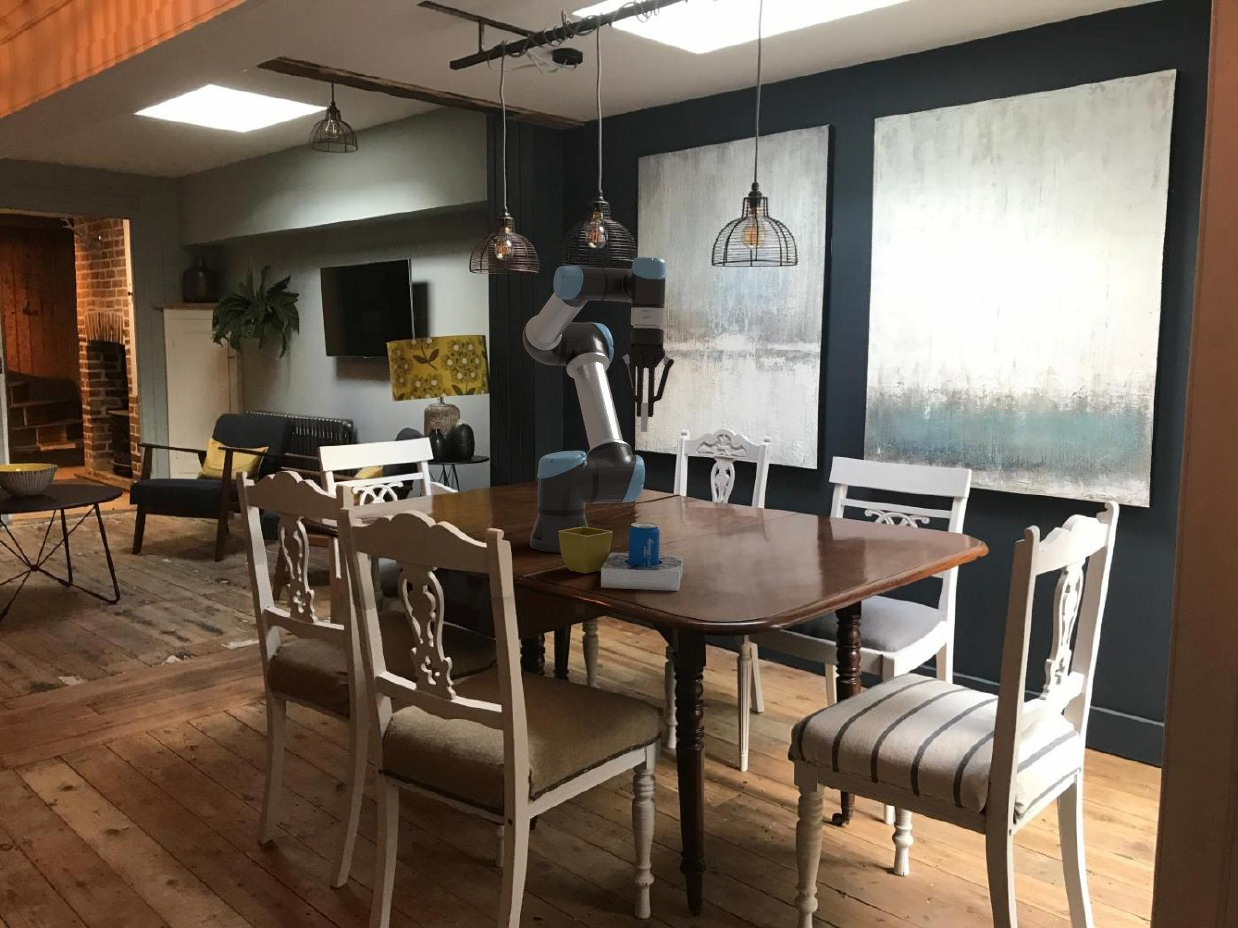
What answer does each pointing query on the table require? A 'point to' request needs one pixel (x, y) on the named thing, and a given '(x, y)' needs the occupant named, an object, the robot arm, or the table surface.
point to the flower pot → (585, 548)
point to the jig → (642, 573)
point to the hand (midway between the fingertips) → (644, 431)
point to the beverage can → (644, 544)
